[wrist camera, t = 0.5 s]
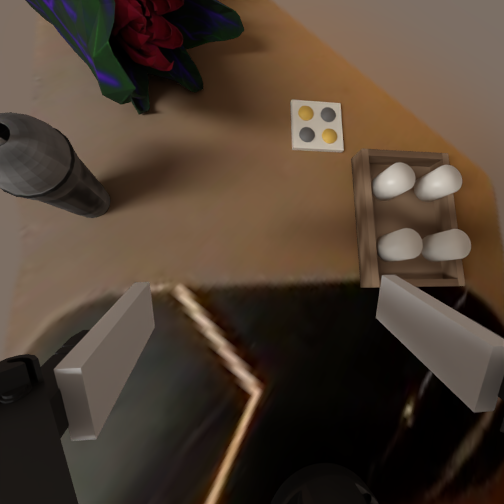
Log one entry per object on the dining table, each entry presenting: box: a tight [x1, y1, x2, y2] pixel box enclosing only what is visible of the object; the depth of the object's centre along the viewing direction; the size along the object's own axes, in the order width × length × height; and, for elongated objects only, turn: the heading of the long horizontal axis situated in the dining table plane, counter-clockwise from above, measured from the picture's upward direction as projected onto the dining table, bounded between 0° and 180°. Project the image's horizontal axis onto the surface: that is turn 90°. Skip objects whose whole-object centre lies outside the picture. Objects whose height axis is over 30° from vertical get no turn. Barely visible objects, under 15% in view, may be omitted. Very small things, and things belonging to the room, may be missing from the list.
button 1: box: [421, 229, 471, 262], centre depth 36 cm, size 4×4×4 cm
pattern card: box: [290, 100, 344, 152], centre depth 40 cm, size 8×8×1 cm
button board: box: [351, 149, 465, 287], centre depth 39 cm, size 20×14×3 cm
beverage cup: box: [0, 112, 110, 218], centre depth 25 cm, size 7×7×20 cm
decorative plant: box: [26, 0, 244, 114], centre depth 30 cm, size 21×26×30 cm
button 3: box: [376, 228, 423, 262], centre depth 35 cm, size 4×4×4 cm
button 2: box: [414, 165, 462, 202], centre depth 37 cm, size 4×4×4 cm
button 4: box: [371, 162, 415, 201], centre depth 36 cm, size 4×4×4 cm
